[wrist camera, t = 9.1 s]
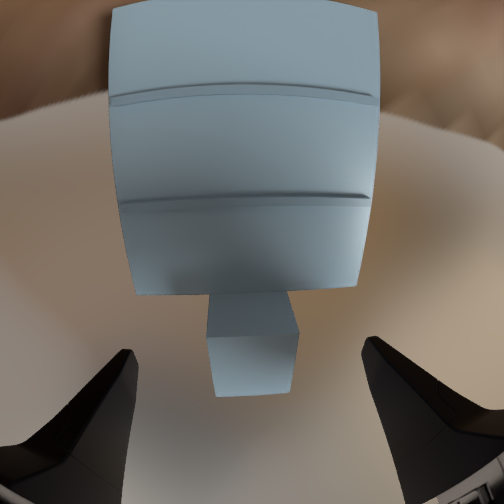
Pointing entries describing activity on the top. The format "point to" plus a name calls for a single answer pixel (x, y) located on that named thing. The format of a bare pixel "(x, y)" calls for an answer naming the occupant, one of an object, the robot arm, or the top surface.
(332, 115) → the light blue tapered piece
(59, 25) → the top surface
